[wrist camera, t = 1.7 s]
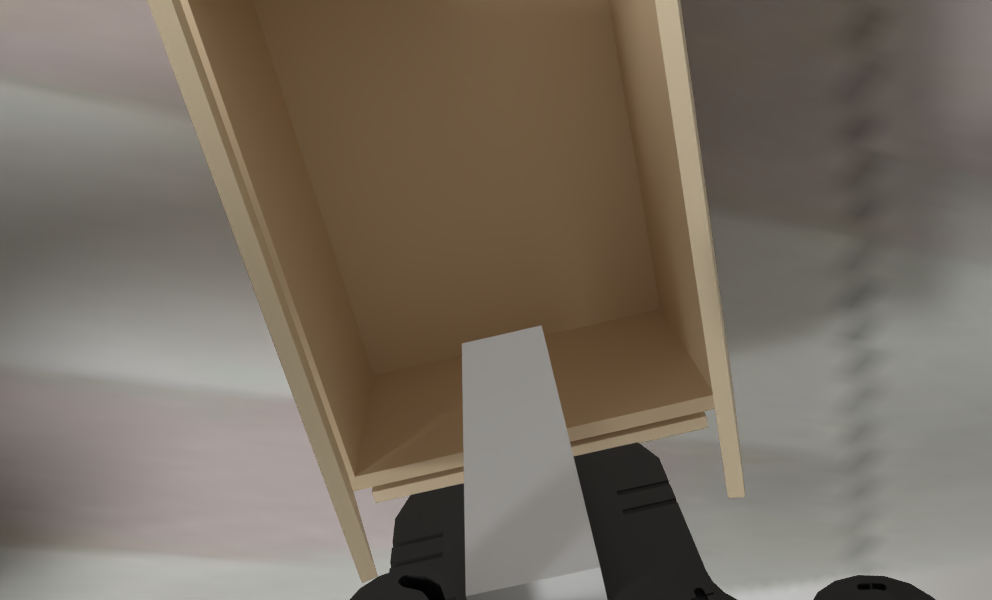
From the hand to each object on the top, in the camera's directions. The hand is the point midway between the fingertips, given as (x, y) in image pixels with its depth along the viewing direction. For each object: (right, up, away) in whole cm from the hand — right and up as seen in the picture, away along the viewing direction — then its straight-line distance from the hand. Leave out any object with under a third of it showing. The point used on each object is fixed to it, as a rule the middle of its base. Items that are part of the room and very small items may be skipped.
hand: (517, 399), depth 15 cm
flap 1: (-8, +3, +12) cm, 14 cm away
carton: (-1, +8, +20) cm, 22 cm away
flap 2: (+6, +6, +11) cm, 14 cm away
